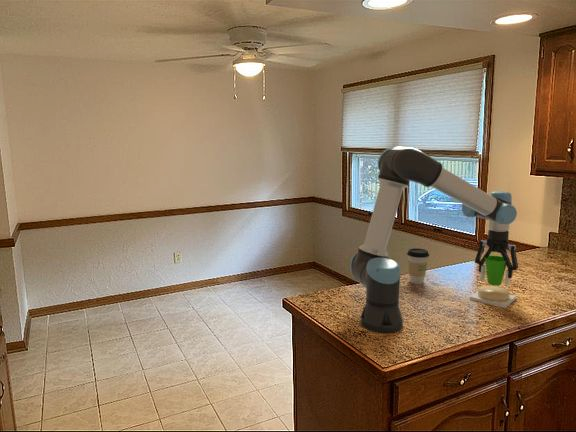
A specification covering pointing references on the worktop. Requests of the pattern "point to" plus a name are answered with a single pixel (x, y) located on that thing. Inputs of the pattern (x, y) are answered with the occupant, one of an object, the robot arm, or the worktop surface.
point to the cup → (495, 269)
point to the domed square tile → (493, 296)
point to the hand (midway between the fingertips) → (494, 282)
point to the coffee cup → (417, 264)
